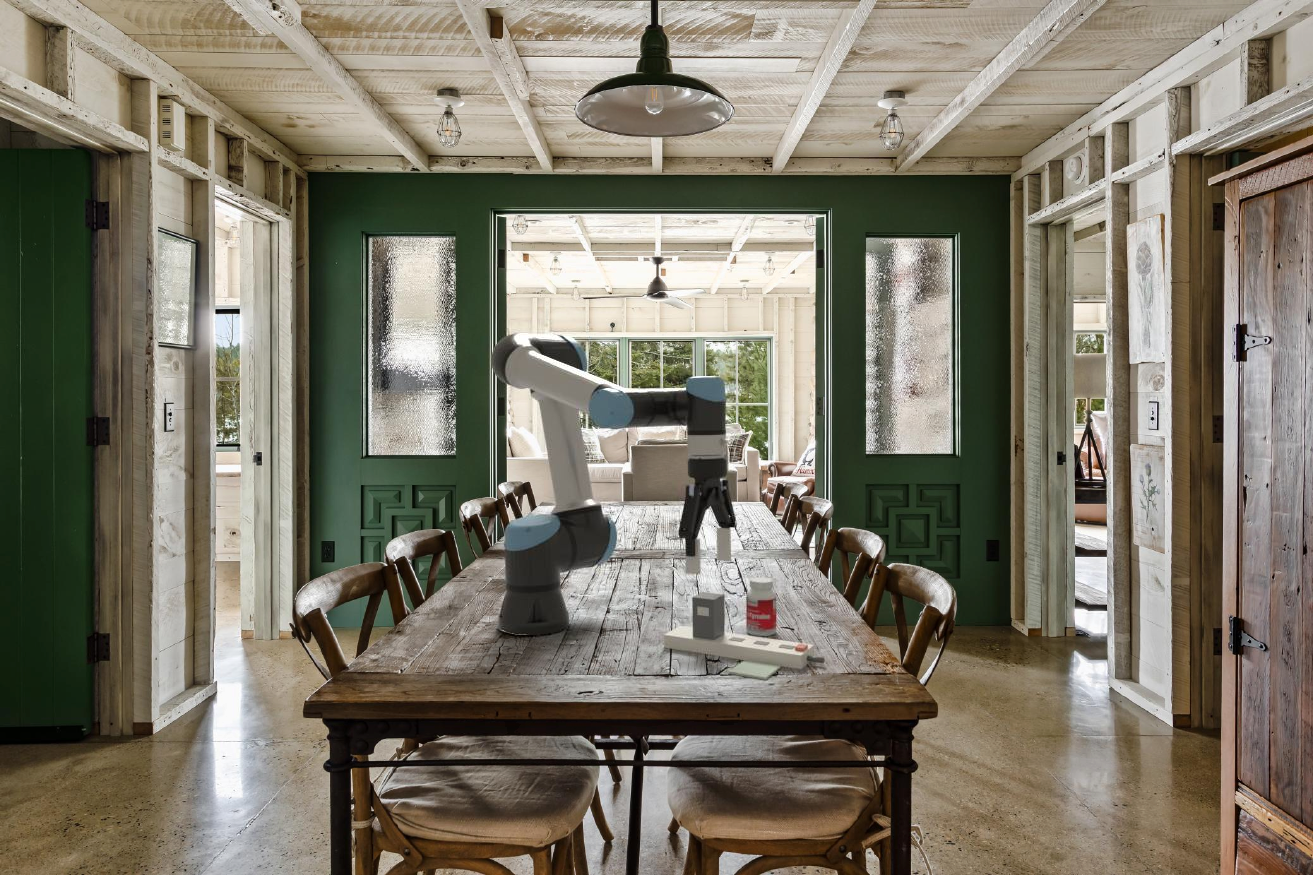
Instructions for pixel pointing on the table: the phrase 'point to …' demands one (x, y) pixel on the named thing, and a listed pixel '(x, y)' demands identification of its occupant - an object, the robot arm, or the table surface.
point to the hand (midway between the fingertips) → (709, 566)
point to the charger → (708, 615)
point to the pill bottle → (761, 607)
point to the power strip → (744, 648)
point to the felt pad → (754, 669)
